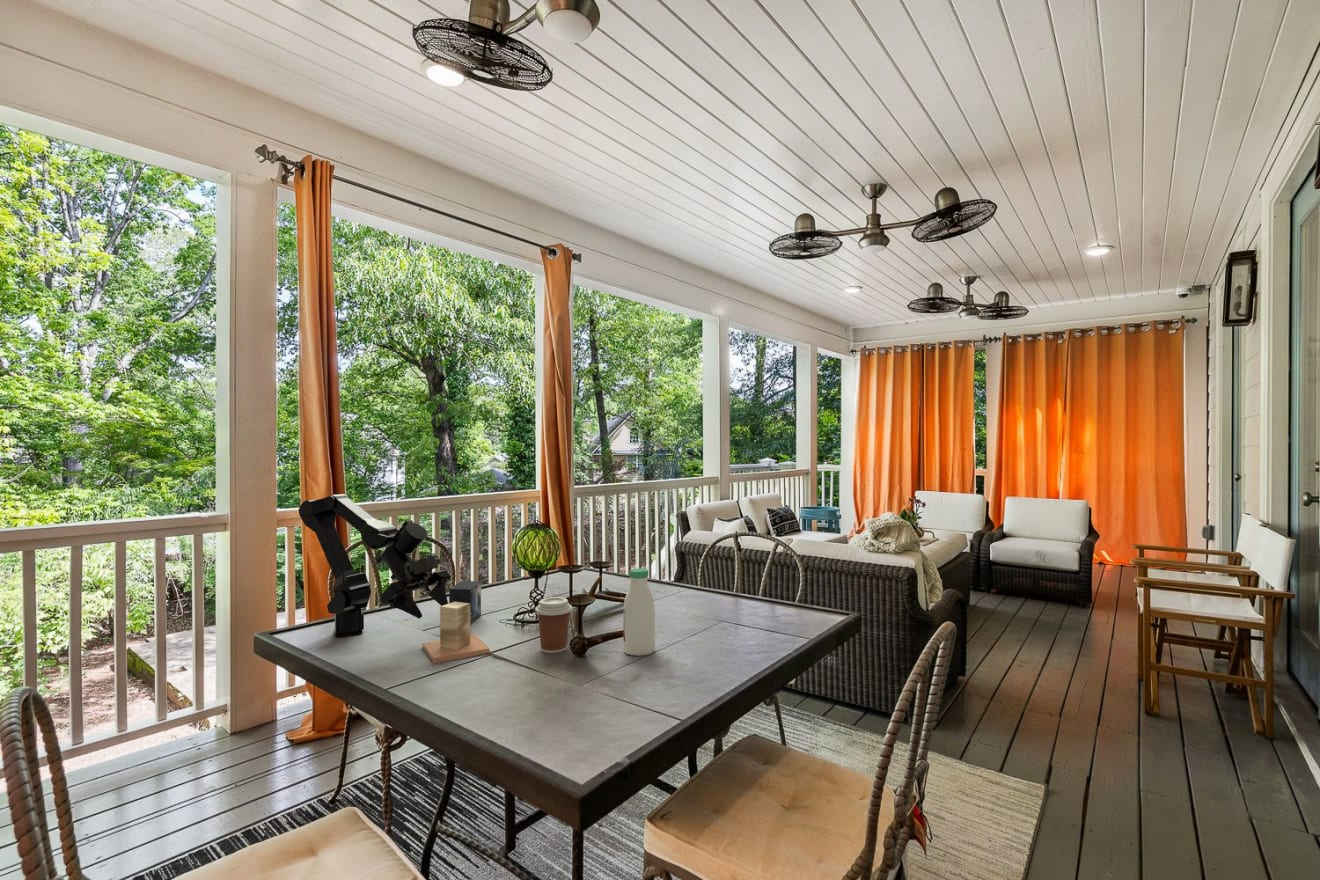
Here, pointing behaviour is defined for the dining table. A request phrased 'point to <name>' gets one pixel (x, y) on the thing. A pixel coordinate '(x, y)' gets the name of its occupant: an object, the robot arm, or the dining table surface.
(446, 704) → the dining table surface
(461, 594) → the small box
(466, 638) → the maple block
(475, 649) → the terracotta tile
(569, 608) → the coffee cup
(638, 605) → the milk bottle
